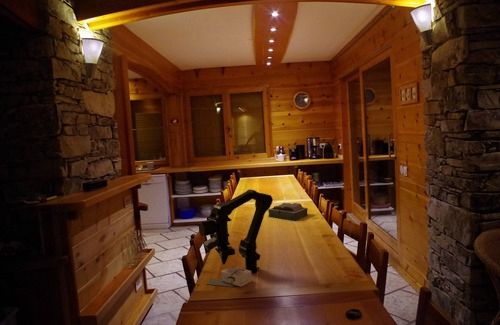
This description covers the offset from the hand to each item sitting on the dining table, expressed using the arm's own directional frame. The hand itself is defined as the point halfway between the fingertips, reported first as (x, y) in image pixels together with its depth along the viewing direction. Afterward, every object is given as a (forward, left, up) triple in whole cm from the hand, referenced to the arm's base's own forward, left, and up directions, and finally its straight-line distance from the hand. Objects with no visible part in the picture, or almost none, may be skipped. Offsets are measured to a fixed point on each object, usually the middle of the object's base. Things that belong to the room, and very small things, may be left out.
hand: (223, 264), depth 162 cm
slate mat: (+4, 0, -8) cm, 8 cm away
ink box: (-1, +1, -5) cm, 5 cm away
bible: (-113, +9, -8) cm, 114 cm away
